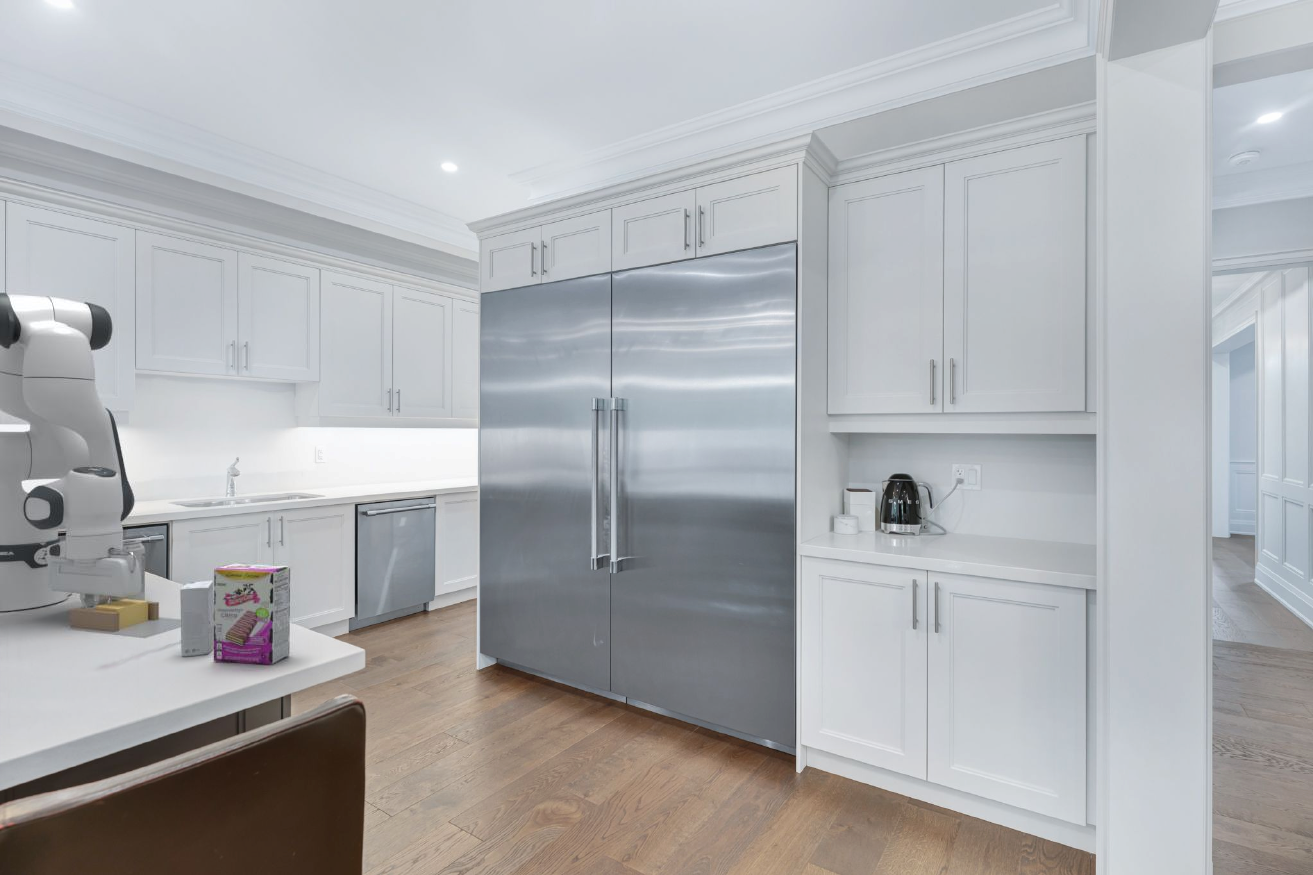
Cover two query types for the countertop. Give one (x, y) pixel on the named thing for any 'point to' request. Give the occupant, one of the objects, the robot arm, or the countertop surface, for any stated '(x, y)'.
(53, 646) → the countertop surface
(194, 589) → the skincare box
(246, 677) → the countertop surface
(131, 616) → the ochre block
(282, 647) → the candy bar box
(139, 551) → the energy drink can
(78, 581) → the robot arm
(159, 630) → the chute
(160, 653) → the countertop surface
